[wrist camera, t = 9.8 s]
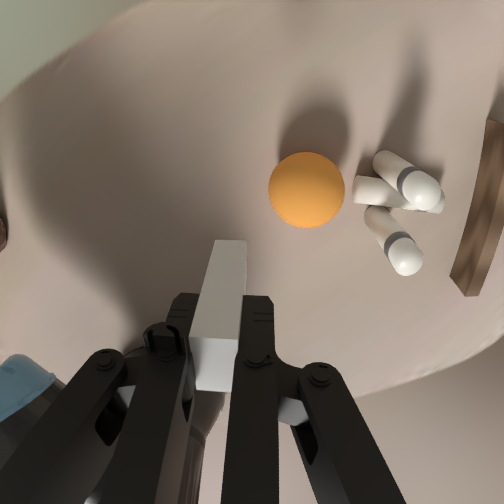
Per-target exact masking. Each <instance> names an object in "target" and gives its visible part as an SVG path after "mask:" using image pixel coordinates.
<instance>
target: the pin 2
mask: <svg viewBox="0 0 504 504" xmlns="http://www.w3.org/2000/svg"><path fill="white" fill-rule="evenodd" d="M364 220H365V223H366V224H367V226H368V227H369V229H370V230H371V232H372V233H373V235H374V236H375V238H376V239H377V241H378V243H379V244H380V246H381V247H382V249H383V250H384V253H385V255H386V256H387V258H388V260H389V261H390V262H391V263H392V265H393V266H394V268H395V270H396V271H397V273H399V274H400V275H403V276H409V275H412V274H414V273H415V272H417V271H418V270H419V269H420V267H421V266H422V264H423V260H424V256H423V253H422V251H421V250H420V249H419V247H418V246H417V245H416V243H415V241H414V240H413V239H412V238H411V237H410V235H409V234H408V233H406V232H405V230H404V229H403V228H402V227H401V226H400V224H399V223H398V222H397V221H396V220H395V219H394V217H393V216H392V215H391V214H390V213H389V212H388V211H387V209H386V208H385V207H384V206H378V205H372V206H370V207H369V208H368V209H367V210H366V212H365V215H364Z"/></svg>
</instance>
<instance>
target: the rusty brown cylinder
mask: <svg viewBox="0 0 504 504" xmlns="http://www.w3.org/2000/svg"><path fill="white" fill-rule="evenodd" d="M6 245H7V242H6V231H5V226H4V224H3V221H2V219H1V218H0V252H1V251H2V250H3V249H4V248H5V247H6Z"/></svg>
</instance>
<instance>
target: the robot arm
mask: <svg viewBox="0 0 504 504" xmlns="http://www.w3.org/2000/svg"><path fill="white" fill-rule="evenodd" d="M246 278H247V241H239V240H215V243H214V246H213V250H212V253H211V257H210V260H209V264H208V267H207V271H206V275H205V278H204V282H203V285H202V289H201V293H200V294H195V293H180V294H179V295H178V296H177V297H176V298H175V299H174V300H173V302H172V305H171V308H170V310H169V313H168V317H167V319H166V321H165V322H160V323H156V324H153V325H151V326H150V327H148V328H147V329H146V330H145V332H144V333H143V336H144V340H145V344H146V347H143V348H139V349H136V350H133V351H131V352H130V353H128V354H127V355H126V356H125V357H123V356H122V354H121V353H120V352H118V351H117V350H114V349H102V350H99V351H97V352H95V353H94V354H93V355H91V356H90V357H89V359H88V360H87V361H86V362H85V363H84V365H83V366H82V367H81V368H80V369H79V371H78V372H77V373H76V374H75V375H74V377H73V378H72V379H71V380H70V381H69V383H68V384H67V385H65V384H64V383H63V382H61V381H60V380H59V379H57V378H56V376H55V375H54V373H49V372H48V371H46V370H45V369H44V368H42V367H41V366H40V365H38V364H37V363H36V362H34V361H33V360H32V359H30V358H29V357H27V356H25V355H22V354H15V355H12V356H10V357H9V358H8V359H7V360H5V361H4V362H3V364H2V365H1V366H0V504H198V499H199V491H200V482H201V473H202V465H203V457H204V448H205V442H206V438H207V436H208V434H209V432H210V431H211V429H212V427H213V425H214V423H215V421H216V420H217V418H218V416H219V414H220V413H221V411H222V409H223V406H224V401H225V392H231V401H230V411H229V421H228V431H227V441H226V451H225V462H224V472H223V483H222V493H221V504H279V438H278V421H280V422H283V423H286V424H290V427H291V430H292V433H293V436H294V438H295V441H296V444H297V447H298V450H299V453H300V455H301V458H302V461H303V464H304V467H305V470H306V472H307V475H308V478H309V481H310V484H311V486H312V489H313V492H314V495H315V497H316V500H317V503H318V504H406V502H405V500H404V498H403V496H402V494H401V492H400V490H399V488H398V486H397V484H396V482H395V480H394V478H393V476H392V474H391V472H390V470H389V468H388V466H387V464H386V462H385V460H384V458H383V456H382V454H381V452H380V450H379V448H378V446H377V444H376V442H375V440H374V438H373V436H372V434H371V432H370V431H369V428H368V426H367V424H366V423H365V421H364V419H363V417H362V415H361V413H360V411H359V409H358V407H357V405H356V403H355V401H354V399H353V397H352V395H351V393H350V392H349V390H348V388H347V386H346V384H345V382H344V380H343V378H342V376H341V374H340V373H339V372H338V370H337V369H336V368H335V367H333V366H331V365H330V364H327V363H322V362H314V363H311V364H308V365H306V366H305V367H304V368H302V369H301V368H298V367H294V366H291V365H288V364H286V363H285V362H283V361H282V360H281V359H280V358H279V357H278V356H277V354H276V351H275V335H274V304H273V303H272V301H271V300H270V298H269V297H268V296H253V295H246Z"/></svg>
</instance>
